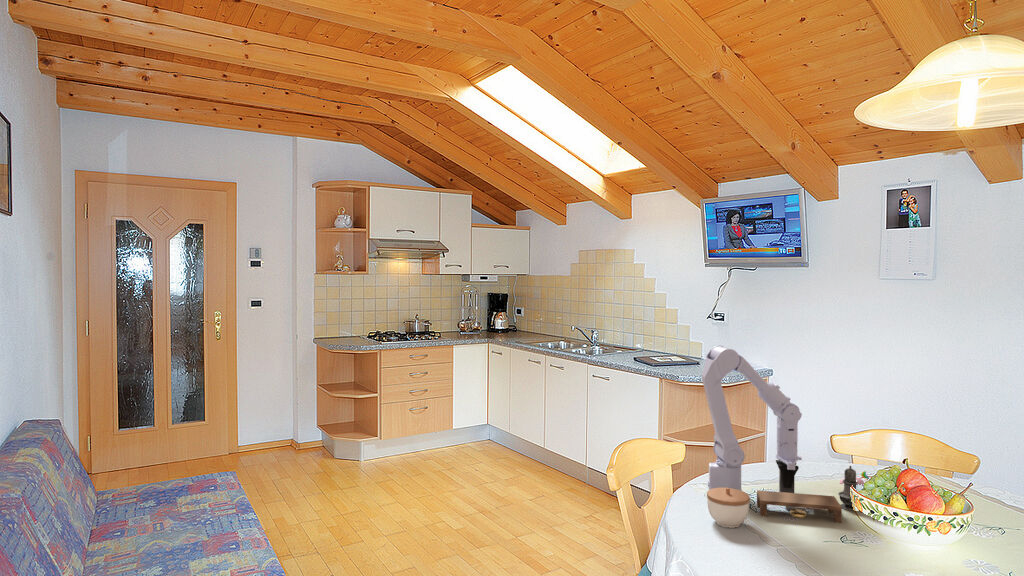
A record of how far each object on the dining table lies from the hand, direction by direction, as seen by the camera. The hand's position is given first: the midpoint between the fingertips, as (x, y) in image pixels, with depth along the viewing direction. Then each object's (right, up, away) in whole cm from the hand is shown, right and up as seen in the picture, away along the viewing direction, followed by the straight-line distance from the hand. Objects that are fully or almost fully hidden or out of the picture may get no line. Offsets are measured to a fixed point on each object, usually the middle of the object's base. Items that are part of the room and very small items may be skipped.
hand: (786, 486), depth 186 cm
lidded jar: (-25, -3, -22) cm, 34 cm away
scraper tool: (-2, -2, -6) cm, 7 cm away
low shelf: (-4, -2, -16) cm, 17 cm away
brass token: (-4, -3, -17) cm, 18 cm away
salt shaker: (+12, -2, -12) cm, 17 cm away
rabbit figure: (+23, -2, +2) cm, 23 cm away
